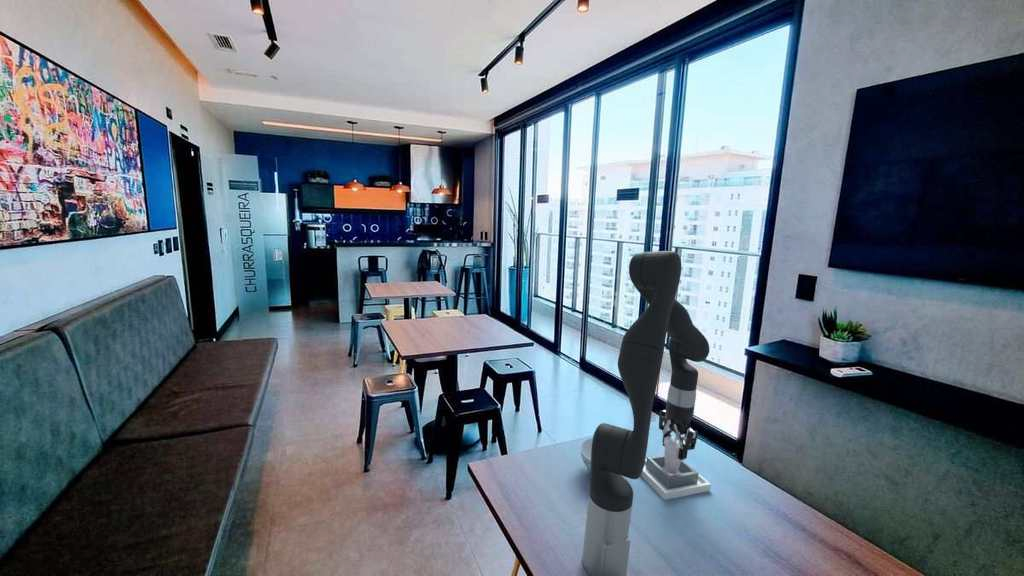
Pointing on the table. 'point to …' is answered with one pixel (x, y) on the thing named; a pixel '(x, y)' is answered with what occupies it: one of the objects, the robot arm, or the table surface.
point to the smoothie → (672, 454)
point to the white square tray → (673, 479)
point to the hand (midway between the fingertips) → (673, 452)
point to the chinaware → (586, 452)
